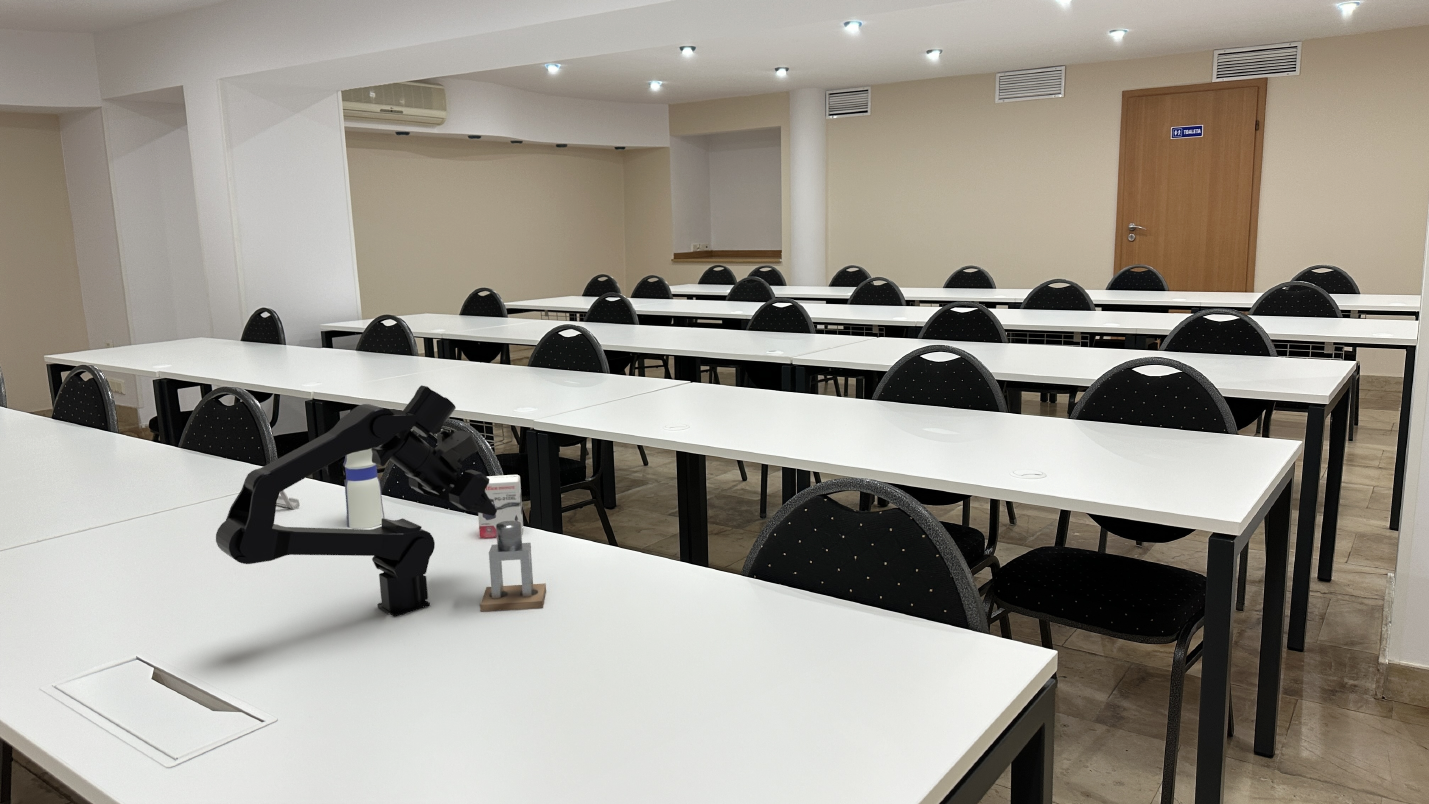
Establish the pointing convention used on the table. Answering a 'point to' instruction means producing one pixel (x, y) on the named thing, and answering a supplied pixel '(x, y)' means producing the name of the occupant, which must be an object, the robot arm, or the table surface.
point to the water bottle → (362, 491)
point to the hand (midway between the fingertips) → (481, 508)
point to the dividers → (510, 557)
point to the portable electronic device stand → (287, 501)
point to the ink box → (502, 504)
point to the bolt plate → (513, 598)
